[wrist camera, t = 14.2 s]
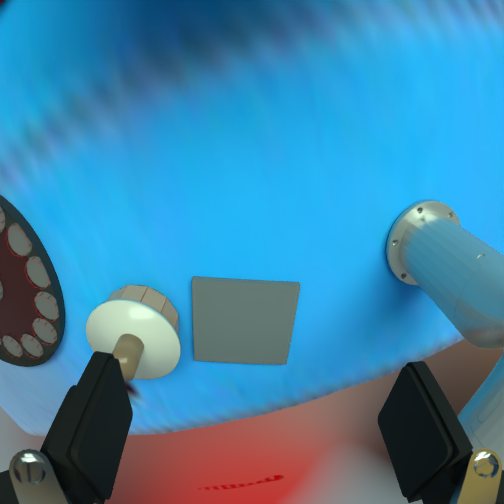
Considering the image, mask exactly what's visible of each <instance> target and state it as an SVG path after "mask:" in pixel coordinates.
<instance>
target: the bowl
mask: <svg viewBox="0 0 504 504" xmlns="http://www.w3.org/2000/svg"><path fill="white" fill-rule="evenodd" d="M112 299H130V300H135V301H139V302H141V303H144V304H146V305H148V306H150V307H152V308H154V309H155V310H157V311H158V312H160V313H161V314H162V315H164V316H165V317H166V318H167V319H168V320H169V322H170V323H171V324H172V325H173V327H174V328H175V330H176V332H177V334H179V331H180V330H179V315H178V313H177V311H176V310H175V308H174V307H173V305H172V304H171V302H170V301H169V300H168V298H167V297H165V296H164V295H163V294H162V293H160V292H159V291H157V290H155V289H153V288H150V287H148V286H142V285H126V286H124V287H122V288H120V289H118V290H116V291H114V292H113V293H112V294H111V295H110V297H109V298H108V300H112ZM108 300H107V301H108Z"/></svg>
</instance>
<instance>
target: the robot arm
mask: <svg viewBox="0 0 504 504" xmlns="http://www.w3.org/2000/svg"><path fill="white" fill-rule="evenodd" d="M386 253H387V260H388V264H389V266H390V268H391V270H392V272H393V273H394V274H395V275H396V277H397V278H399V279H400V280H401V281H403V282H404V283H406V284H410V285H419V286H420V287H421V288H422V289H423V290H424V291H425V292H426V293H427V295H428V296H429V297H430V298H431V299H432V300H433V301H434V303H435V304H436V305H437V306H438V307H439V308H440V310H441V311H442V312H443V313H444V314H445V316H446V317H447V318H448V319H449V320H450V321H451V323H452V324H453V325H454V326H455V328H456V329H457V330H458V331H459V332H460V333H461V335H462V336H463V337H464V338H465V339H466V340H467V341H468V342H469V343H471V344H472V345H474V346H476V347H479V348H484V349H498V348H504V255H503V254H501V253H500V252H499V251H497V250H496V249H494V248H493V247H491V246H490V245H488V244H487V243H485V242H484V241H482V240H481V239H479V238H478V237H476V236H475V235H473V234H472V233H470V232H469V231H467V230H466V229H464V228H462V227H461V225H460V222H459V219H458V217H457V215H456V213H455V212H454V211H453V210H452V209H451V208H450V207H449V206H447V205H446V204H444V203H442V202H440V201H436V200H424V201H420V202H417V203H415V204H413V205H411V206H410V207H409V208H407V209H406V210H405V211H404V212H403V213H402V214H401V215H400V216H399V217H398V218H397V220H396V221H395V223H394V225H393V226H392V229H391V231H390V233H389V237H388V240H387V248H386ZM132 415H133V412H132V407H131V404H130V400H129V397H128V393H127V390H126V386H125V382H124V378H123V375H122V371H121V367H120V362H119V360H118V359H116V358H114V355H113V354H112V353H106V352H100V351H95V352H94V353H93V355H92V357H91V359H90V361H89V363H88V365H87V366H86V368H85V370H84V372H83V374H82V376H81V378H80V380H79V382H78V384H77V385H73V386H72V387H71V388H70V389H69V391H68V392H67V394H66V396H65V398H64V400H63V402H62V404H61V407H60V409H59V411H58V413H57V415H56V417H55V419H54V421H53V423H52V425H51V427H50V430H49V432H48V434H47V436H46V438H45V441H44V443H43V445H42V447H41V450H40V452H39V451H37V450H33V449H26V450H22V451H20V452H18V453H17V454H16V455H15V456H13V458H12V460H11V461H10V466H9V470H7V471H4V472H1V473H0V504H93V503H97V504H104V502H105V499H107V500H108V499H110V497H111V494H112V490H113V486H114V482H115V478H116V474H117V471H118V467H119V463H120V459H121V456H122V452H123V449H124V445H125V441H126V438H127V435H128V431H129V428H130V424H131V421H132ZM378 425H379V427H380V430H381V433H382V436H383V439H384V441H385V444H386V447H387V450H388V453H389V455H390V459H391V462H392V465H393V467H394V470H395V474H396V477H397V480H398V483H399V486H400V489H401V491H402V494H403V496H404V497H407V500H408V502H409V503H411V502H414V501H418V500H421V499H422V501H423V504H504V350H503V354H502V356H501V358H500V359H499V361H498V362H497V364H496V365H495V367H494V369H493V370H492V372H491V373H490V374H489V376H488V377H487V379H486V380H485V381H484V383H483V384H482V385H481V386H480V388H479V389H478V390H477V392H476V393H475V394H474V395H473V397H472V398H471V399H470V401H469V402H468V403H467V404H466V406H465V407H464V408H463V409H462V411H461V412H460V413H459V415H458V416H456V414H455V413H454V411H453V409H452V407H451V405H450V404H449V402H448V400H447V398H446V397H445V395H444V393H443V391H442V390H441V388H440V387H439V385H438V383H437V381H436V380H435V378H434V376H433V375H432V373H431V371H430V370H429V368H428V366H427V365H426V363H425V362H423V361H419V362H409V363H407V364H406V366H405V367H403V368H402V370H401V372H400V374H399V376H398V378H397V380H396V382H395V384H394V386H393V388H392V390H391V392H390V394H389V396H388V398H387V400H386V402H385V404H384V406H383V408H382V410H381V411H380V413H379V415H378Z"/></svg>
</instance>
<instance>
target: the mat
mask: <svg viewBox="0 0 504 504" xmlns="http://www.w3.org/2000/svg"><path fill="white" fill-rule="evenodd" d="M299 291H300V283H299V282H283V281H264V280H245V279H228V278H212V277H197V276H193V279H192V302H193V337H194V360H199V361H212V362H228V363H248V364H286V363H287V358H288V353H289V347H290V342H291V337H292V331H293V326H294V320H295V314H296V309H297V303H298V297H299Z"/></svg>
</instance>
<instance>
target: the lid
mask: <svg viewBox="0 0 504 504" xmlns="http://www.w3.org/2000/svg"><path fill="white" fill-rule="evenodd" d="M86 334H87V339H88V342H89V344H90V346H91V348H92V350H93V351H94V352H95V351H100V352H106V353H112V354H113V355H114V358H116V359H118V360H119V362H120V367H121V371H122V375H123V378H124V381H130V380H132V379H133V378H135V379H143V380H150V379H157V378H160V377H163V376H165V375H167V374H169V373H170V372H171V371H172V370H173V369H174V368H175V367H176V365H177V364H178V361H179V358H180V353H181V343H180V339H179V336H178V334H177V332H176V330H175V328H174V327H173V325H172V324H171V323H170V322H169V320H168V319H167V318H166V317H165V316H164V315H162V314H161V313H160V312H158V311H157V310H155V309H154V308H152V307H150V306H148V305H146V304H144V303H141V302H139V301H135V300H130V299H112V300H108V301H105V302H103V303H101V304H100V305H98V306H97V307H96V308H95V309H94V310H93V312H92V313H91V315H90V316H89V318H88V321H87V325H86Z"/></svg>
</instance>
